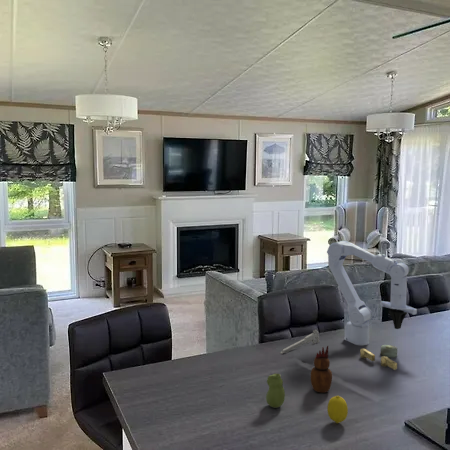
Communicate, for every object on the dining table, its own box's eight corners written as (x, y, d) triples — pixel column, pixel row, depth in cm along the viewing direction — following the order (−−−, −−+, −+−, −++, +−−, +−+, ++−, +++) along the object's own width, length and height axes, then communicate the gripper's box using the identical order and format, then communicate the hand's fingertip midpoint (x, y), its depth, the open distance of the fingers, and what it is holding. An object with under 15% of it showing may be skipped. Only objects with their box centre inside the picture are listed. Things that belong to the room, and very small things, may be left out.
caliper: (317, 343, 187) (317, 328, 186) (319, 344, 186) (319, 329, 185) (279, 353, 175) (280, 338, 174) (281, 354, 174) (281, 339, 174)
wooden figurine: (332, 388, 146) (333, 343, 144) (330, 396, 140) (332, 350, 139) (311, 385, 148) (312, 341, 147) (309, 392, 143) (310, 347, 141)
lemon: (324, 418, 127) (325, 391, 127) (343, 417, 128) (344, 390, 127) (330, 429, 122) (331, 401, 121) (350, 428, 122) (351, 400, 122)
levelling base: (348, 361, 167) (348, 349, 167) (380, 349, 179) (381, 338, 179) (380, 374, 156) (381, 362, 156) (412, 361, 168) (413, 349, 167)
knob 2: (392, 372, 154) (392, 363, 154) (379, 364, 161) (379, 356, 161) (398, 371, 155) (398, 363, 155) (385, 363, 162) (385, 355, 162)
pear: (274, 413, 130) (275, 379, 129) (262, 405, 134) (262, 373, 133) (288, 407, 134) (288, 374, 133) (275, 400, 138) (275, 368, 137)
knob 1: (370, 364, 162) (370, 355, 161) (358, 356, 169) (359, 348, 168) (375, 363, 162) (376, 354, 162) (364, 355, 169) (364, 347, 169)
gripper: (376, 292, 176) (375, 325, 177) (409, 299, 164) (408, 335, 165) (386, 289, 180) (386, 322, 181) (420, 296, 168) (419, 331, 169)
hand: (397, 328), depth 173 cm, fingers closed
